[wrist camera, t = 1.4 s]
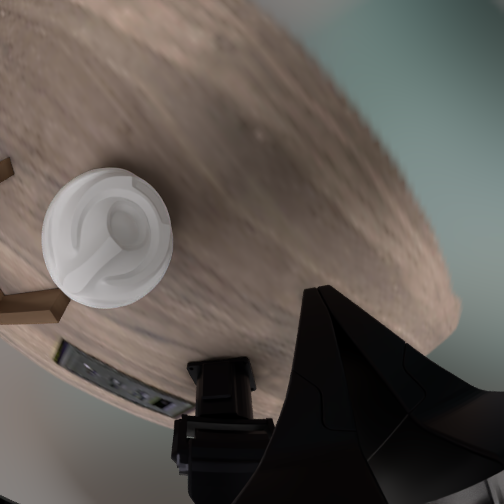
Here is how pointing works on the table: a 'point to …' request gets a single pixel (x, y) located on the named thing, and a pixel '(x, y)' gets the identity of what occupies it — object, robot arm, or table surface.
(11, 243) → the table surface
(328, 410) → the robot arm
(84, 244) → the white carved ball
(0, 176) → the carrier cradle
